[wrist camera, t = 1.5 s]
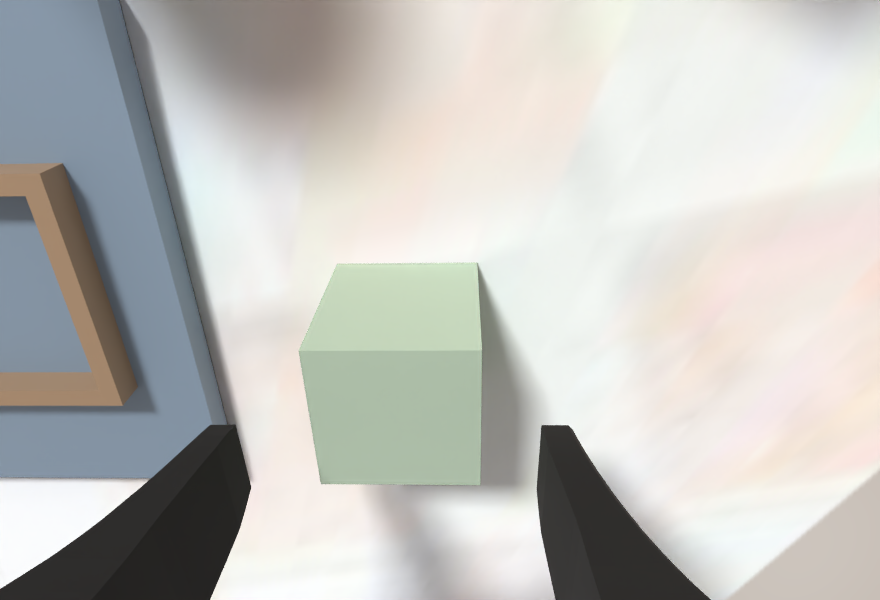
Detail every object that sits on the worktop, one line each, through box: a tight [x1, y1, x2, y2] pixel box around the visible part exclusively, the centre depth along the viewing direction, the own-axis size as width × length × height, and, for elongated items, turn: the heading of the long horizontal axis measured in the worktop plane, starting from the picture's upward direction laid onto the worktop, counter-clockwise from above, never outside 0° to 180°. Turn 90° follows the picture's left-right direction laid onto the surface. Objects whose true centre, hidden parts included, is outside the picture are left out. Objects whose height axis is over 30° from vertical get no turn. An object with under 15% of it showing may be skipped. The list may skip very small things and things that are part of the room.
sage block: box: [299, 263, 482, 485], centre depth 17 cm, size 4×4×5 cm
